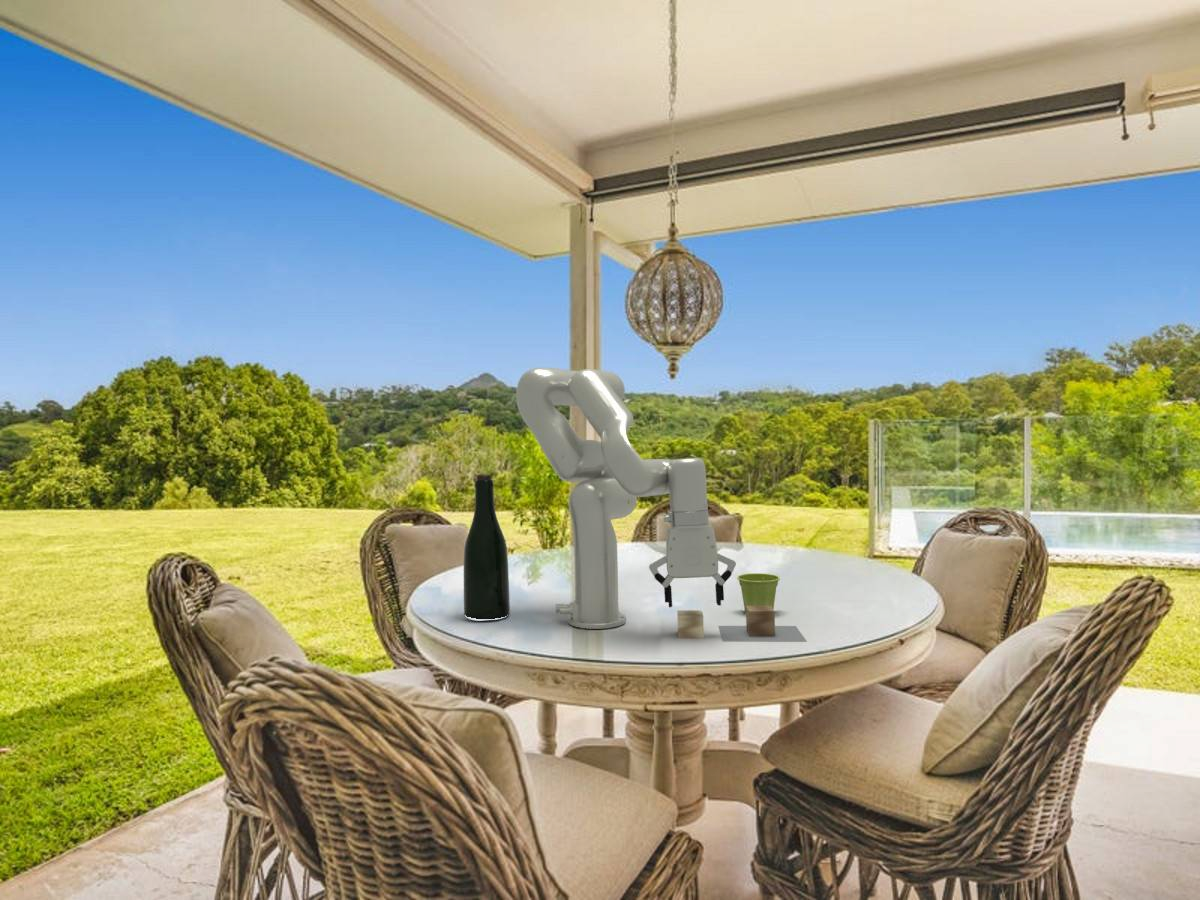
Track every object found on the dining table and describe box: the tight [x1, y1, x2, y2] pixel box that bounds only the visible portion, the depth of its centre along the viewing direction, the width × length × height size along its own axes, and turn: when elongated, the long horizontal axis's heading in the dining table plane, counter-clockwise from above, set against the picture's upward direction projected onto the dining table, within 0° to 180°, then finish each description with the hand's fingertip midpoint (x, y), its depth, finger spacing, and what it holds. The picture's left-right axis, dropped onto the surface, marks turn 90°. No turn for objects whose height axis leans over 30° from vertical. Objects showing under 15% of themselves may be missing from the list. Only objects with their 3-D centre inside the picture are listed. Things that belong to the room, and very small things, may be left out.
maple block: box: [676, 609, 705, 639], centre depth 145 cm, size 5×5×5 cm
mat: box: [718, 625, 808, 643], centre depth 145 cm, size 16×12×1 cm
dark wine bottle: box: [463, 473, 511, 619], centre depth 166 cm, size 10×10×33 cm
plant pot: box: [736, 572, 781, 614], centre depth 162 cm, size 9×9×9 cm
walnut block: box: [745, 606, 776, 637], centre depth 145 cm, size 5×5×5 cm
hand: (694, 605), depth 144 cm, fingers open, 9 cm apart
